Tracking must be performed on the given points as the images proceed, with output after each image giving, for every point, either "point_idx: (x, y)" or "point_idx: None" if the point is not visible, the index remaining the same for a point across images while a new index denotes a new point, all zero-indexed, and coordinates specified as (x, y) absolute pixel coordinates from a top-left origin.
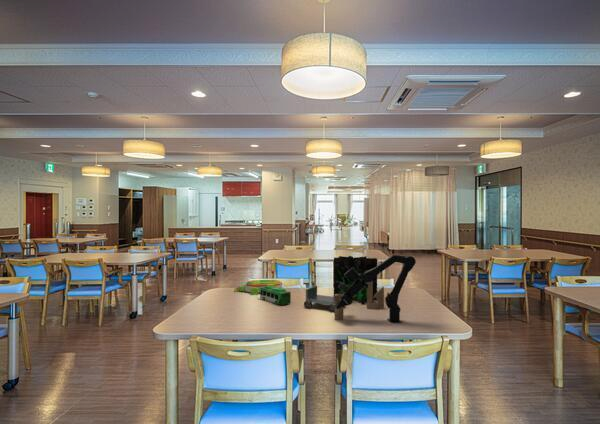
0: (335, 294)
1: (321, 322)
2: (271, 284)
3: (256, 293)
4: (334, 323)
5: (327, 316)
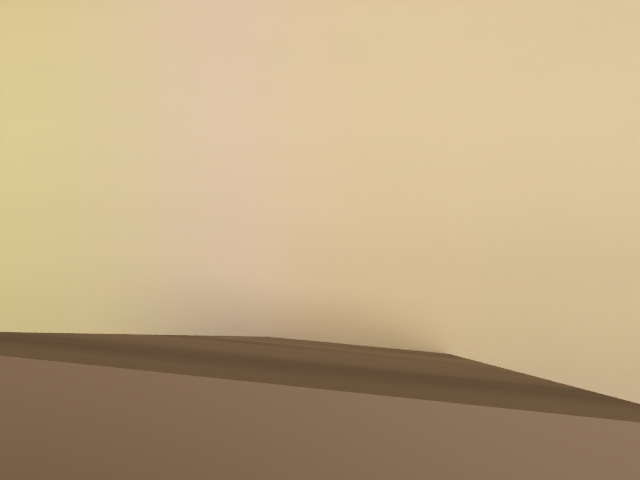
0: (355, 475)
1: (96, 85)
2: None
3: None
4: (34, 323)
5: (513, 193)
